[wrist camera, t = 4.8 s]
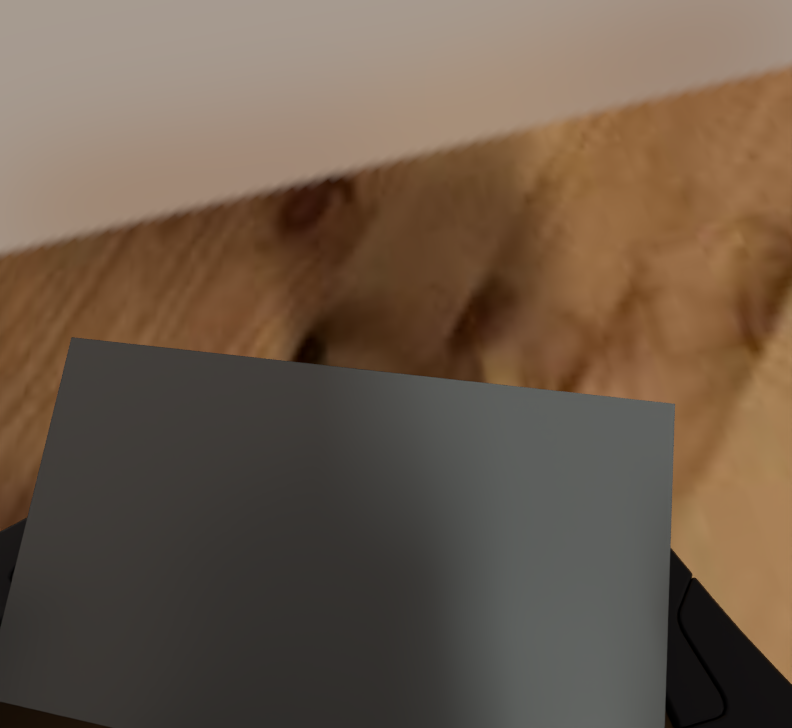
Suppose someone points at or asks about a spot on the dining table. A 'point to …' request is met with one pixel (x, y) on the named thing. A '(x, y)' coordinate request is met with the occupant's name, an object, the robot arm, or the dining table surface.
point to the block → (339, 550)
